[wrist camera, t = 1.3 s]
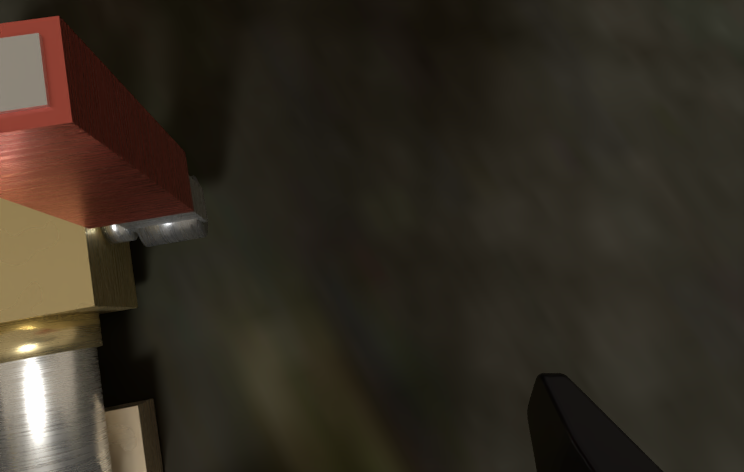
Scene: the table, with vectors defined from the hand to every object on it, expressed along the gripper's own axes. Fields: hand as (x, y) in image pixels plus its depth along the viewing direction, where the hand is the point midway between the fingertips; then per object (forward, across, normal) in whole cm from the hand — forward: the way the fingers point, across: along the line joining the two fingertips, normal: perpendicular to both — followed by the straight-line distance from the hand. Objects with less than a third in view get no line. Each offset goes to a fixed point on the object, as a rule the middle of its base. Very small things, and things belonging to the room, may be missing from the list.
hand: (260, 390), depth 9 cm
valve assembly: (+12, +9, +8) cm, 17 cm away
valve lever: (+12, +5, +5) cm, 14 cm away
